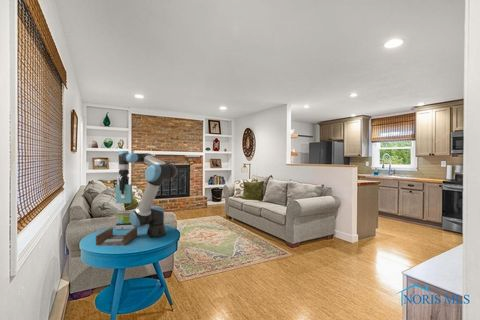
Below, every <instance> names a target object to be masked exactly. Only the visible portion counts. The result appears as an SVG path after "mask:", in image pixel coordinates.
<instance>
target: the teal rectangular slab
mask: <svg viewBox="0 0 480 320" xmlns="http://www.w3.org/2000/svg"><path fill="white" fill-rule="evenodd" d="M124 190H125V198H121V190H120V188H119V184H115V203H116V204H132V203H133V184H129V185H125V187H124Z"/></svg>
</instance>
